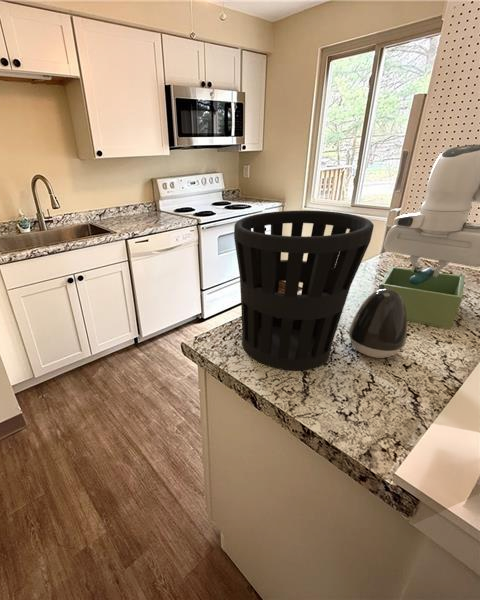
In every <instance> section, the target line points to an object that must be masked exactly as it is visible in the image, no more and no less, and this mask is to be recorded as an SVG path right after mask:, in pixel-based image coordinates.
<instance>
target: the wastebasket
mask: <svg viewBox="0 0 480 600" xmlns="http://www.w3.org/2000/svg"><path fill="white" fill-rule="evenodd" d="M284 224H291V230H290V231H291V232H290V235H283V229H284ZM304 224H312V229H311V234H310V236H309V235H308V236H303V229H304ZM266 226H270V234H269V233H266ZM327 226H332V229H331V231H330V232H331V233H330V235H325V231H326V227H327ZM374 226H375V225H374V223H373V222H372V220H370V219H368V218H366V217H363V216H359V215H355V214H351V213H346V212H339V211H329V210H282V211H281V210H280V211H271V212H264V213H262V212H261V213H257V214H252V215H249V216H244V217H241V218H240V219H238V220H237V221H236V222H235V223H234V226H233V227H234V228H233V229H234V230H233V239H234V247H235V252H236V259H237V265H238V273H239V287H240V307H241V309H240V310H241V328H242V329H241V331H242V333H241V345H242V348H243V350H244V351H245V353H246V354H247V355H248V356H249V357H250V358H251V359H253V360H255V361H256V362H258V363H260V364H262V365H264V366H267V367H270V368H274V369H277V370H283V371H291V372H303V371H309V370H315V369H317V368H320V367H322V366H323V365H324V364H326V363H327V362H328V360H330V359H329V358H330V355H331V350H332V345H333V342H334V338H335V336H336V332H337V329H338V326H339V323H340V321H341V317H342V314H343V311H344V308H345V306H346V305H345V304H346V302H347V301H346V300H347V299H348V295H349V292H350V289H351V286H352V284H353V281H354V279H355V277H356V275H357V273H358V270H359V268H360V265H361V263H362V261H363V258H364V256H365V254H366V252H367V250H368V247H369V245H370V243H371V240H372V236H373V232H374ZM347 230H349V231H348V232H347ZM282 253H285V254H287V259H282ZM305 254H307V256H306V260H304V255H305ZM280 282H285V283H284V284H285V285H284V292H279V288H280V287H279V286H280ZM300 283H301V284H302V285H301V293H300V294H298V292H299V286H300Z"/></svg>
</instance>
